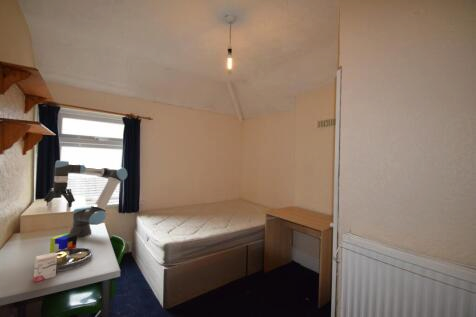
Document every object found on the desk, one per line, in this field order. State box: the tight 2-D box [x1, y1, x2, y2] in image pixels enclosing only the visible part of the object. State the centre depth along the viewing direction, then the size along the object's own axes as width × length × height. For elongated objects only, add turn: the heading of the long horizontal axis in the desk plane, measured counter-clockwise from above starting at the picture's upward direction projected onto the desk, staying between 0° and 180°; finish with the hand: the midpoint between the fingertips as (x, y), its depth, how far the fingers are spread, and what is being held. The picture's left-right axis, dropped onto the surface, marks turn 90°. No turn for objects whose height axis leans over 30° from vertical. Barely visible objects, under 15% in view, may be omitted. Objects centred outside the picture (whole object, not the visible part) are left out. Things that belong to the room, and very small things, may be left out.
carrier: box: [53, 247, 93, 273], centre depth 129 cm, size 26×26×6 cm
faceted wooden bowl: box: [56, 252, 67, 265], centre depth 122 cm, size 8×8×6 cm
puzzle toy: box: [49, 233, 78, 253], centre depth 145 cm, size 10×10×10 cm
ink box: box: [32, 252, 57, 283], centre depth 111 cm, size 9×5×12 cm, turn 139°
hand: (58, 211), depth 148 cm, fingers open, 13 cm apart
